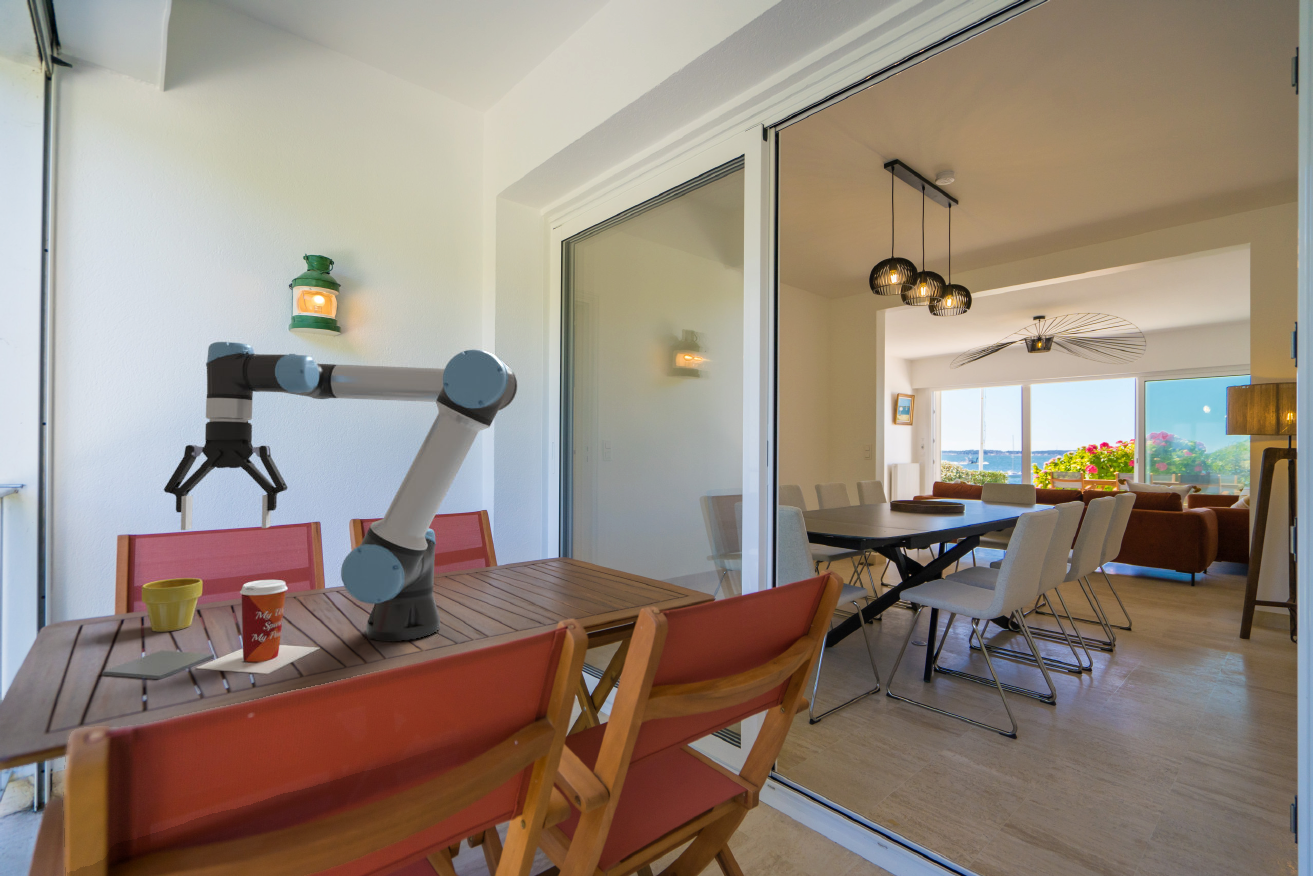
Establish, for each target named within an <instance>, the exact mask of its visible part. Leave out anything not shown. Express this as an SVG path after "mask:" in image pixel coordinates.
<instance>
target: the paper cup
mask: <svg viewBox="0 0 1313 876" xmlns="http://www.w3.org/2000/svg"><path fill="white" fill-rule="evenodd" d="M286 591H288V586H287V584H286V581H285V580H281V579H280V580H279V579H262V580H261V579H260V580H253V581H249V582H246V583H244V584H243V585H242V588H241V589H240V591H239V594H240V595H241V625H242V627H241V628H242V629H241V630H242V633H241V634H242V649H243V659H244V661H246V662H262V661H267V660H271V659H273V658H276V657H277V656H278V652H279V645H281V635H282V627H283V619H284V611H285V609H284V608H285V601H286Z"/></svg>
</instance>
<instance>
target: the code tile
mask: <svg viewBox="0 0 1313 876" xmlns="http://www.w3.org/2000/svg"><path fill="white" fill-rule="evenodd" d="M319 649H321V647H313V646H312V647H311V646H301V645H285V644H280V645H279V652H278V656H277V657H276V658H273V659H271V660H267V661H262V662H246V661H244V659H243V648H241V649H238V650H236V651H233V652H231V653H229V654H226V655H223V656H221V657H219V658H216V659H214V660H212V661H209V662H207V663H204V664H202V665H199V666H196V667H195V669H197V670H198V669H199V670H209V671H210V670H211V671H221V672H223V671H224V672H236V673H247V674H248V673H249V674H263V675H269V674H271V673H273V672H275V671H277V670H279V669H281V668H283V667H285V666H287V665H290V664H291V663H294V662H296V661H298V660H300V659H301V658H304V657H305V656H308V655H310V654H311V653H315V652H316V651H318V650H319Z"/></svg>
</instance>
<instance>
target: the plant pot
mask: <svg viewBox="0 0 1313 876" xmlns="http://www.w3.org/2000/svg"><path fill="white" fill-rule="evenodd" d="M202 594H203V580H202V578H196V577H180V578H170V579H169V578H168V579H161V580H156V581H151V582H147V583H145V584H143V585H142V586H141V602H142V603H143V604H145V606H146V610H147V614H148V619H149V623H150V627H151V630H152V631H153V632H155V633H156V632H158V633H160V632H161V633H167V632H174V631H180V630H183V629H187V628H189V627H190V626H191V625H192V623H193V618H194V615H195V610H196V608H197V603H198V599H199V598H200V597H202Z"/></svg>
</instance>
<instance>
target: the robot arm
mask: <svg viewBox="0 0 1313 876" xmlns="http://www.w3.org/2000/svg"><path fill="white" fill-rule="evenodd" d="M254 350H255V349H254V348H253V346H251V345H250V344H247V343H242V342H241V343H240V342H232V341H231V342H229V341H216V342H212V343H211V344H210V345H208V349H207V358H206V363H205V367H206V402H205V418H206V419H207V420H208V421H207V422H206V423H205V430H204V431H205V437H204V438H205V444H204V446H197V445H196V444H187V445H186V446H185V447H184V452H183V453H184V455H183V457H182V458H181V461H180V462H179V463H178V466H177V467H176V468H175V470H174V471H173V473H172V475H171V477H170V479H169V480H168V482H167V483H166V484H165V487H164V489H163V491H164V493H166V494H167V493H168V494H172V495H174V496H175V511H176V513H180V514H181V515H180V517H181V518H180V531H187V530H192V529H193V504H194V503H193V498H194V497H193V495H192V494H191V495H189V493H190V492H191V491H192V490H193V489H194V488H195V487H196V486H197V485H198V484H199V483H200V482H201V481H202V480H203V479H204V478H205V477H206V476H207V475H208V474H209V473H211V471H212V470H214V469H215V468H217V469H225V468H228V469H238V468H239V469H240V468H241V469H243V471H245V472H246V473H247V474H248V475H249V476H250V477H251V478H252V479H253V481H255V483H256V484H258V485H259V487H260V488H261V489H262V490H263V491H265V493H266V494H263V495H262V499H261V501H262V502H261V504H262V505H261V508H262V509H261V529H267V528H270V527H272V526H271V524H272V523H271V521H272V511H276V510H277V501H278V500H277V497H278V494H279V493H282V492H284V491H287V490H288V485H287V484H286V482H285V480H284V478H283V477H282V474H281V473H280V471H279V469H278V467H277V465H276V464H275V461H274V460H273V458H272V456H271V455H272V454H271V448H270V446H269V445H260V446H253V444H252V439H253V438H252V437H253V434H252V433H253V424H252V423H251V422H249V421H251V420H252V418H253V398H254V397H253V394H254V392H255V393H260V392H262V393H263V392H264V393H285V394H289V395H290V394H291V395H297V396H304V397H309V398H312V399H316V400H326V399H327V400H328V399H345V400H346V399H351V400H371V401H372V400H374V401H375V400H376V401H377V400H378V401H398V402H399V401H401V402H402V401H403V402H404V401H405V402H425V403H427V402H429V403H433V402H434V403H436V407H437V410H438V413H437V415H436V417H435V419H434V421H433V423H432V425H431V427H430V428H429V431H428V432H427V435H426V436H425V438H424V440H423V442H422V444H421V446H420V448H419V450H418V451H417V453H416V455H415V458H414V459H413V461H412V462H411V465H410V467H409V468H408V471H407V473H406V474H405V477H404V478H403V480H402V482H401V484H400V486H399V488H398V490H397V491H396V493H395V495H394V497H393V499H392V500H391V503H390V505H389V507H388V509H387V511H386V513H385V515H384V516H383V518H382V519H380V520H377V521H374V522H372V523H371V524H370V526H369V528H368V529H367V531H366V533H365V535H364V537H363V539H362V541H361V543H360V544H359V546H356V547H355V548H353V549H352V550H351V551H350V552H349V553H348V554H347V555H346V557H345V558H344V559H343V562H342V564H341V569H340V576H341V581H342V584H343V586H344V589H345V591H346V592H347V593H348V594H349V595H350V596H351V597H352V598H354V599H355V600H356V601H359V602H361V603H365V604H370V605H371V604H373V607H372V609H371V611H370V614H369V617H368V619H367V622H366V625H365V626H366V629H365V635H366V636H367V638H370V639H372V640H376V641H383V642H402V641H401V640H405V641H410V640H409V639H413V640H417V639H416V638H419V639H421V638H420V637H423V636H426V635H429V634H432V633H434V632H436V631H437V630H439V631H440V629H439V628H441V617H440V615H439V611H438V606H437V604H436V600H435V597H434V579H435V578H434V574H435V556H436V555H435V552H436V545H437V542H436V533H435V531H434V529H432V528H429V527H431V524H432V522H433V520H434V519H435V516H436V515H437V513H438V511H439V508H440V506H441V505H442V503H443V501H444V499H445V497H446V495H447V493H448V492H449V489H450V487H451V485H452V484H453V482H454V480H455V478H456V476H457V474H458V473H459V470H460V468H461V467H462V464H463V463H464V461H465V459H466V457H467V454H468V453H469V451H470V449H471V447H472V445H473V443H474V442H475V439H476V437H477V436H478V434H479V432H480V431H483V430H486V429H489V428H490V427H491V425H492V423H493V421H494V420H495V418H496V416H497V413H498V412H499V411H502V410H503V409H505V408H506V407H508V406H509V405H510V404H511V403H513V400H514V399H515V397H516V395H517V391H518V379H517V377H516V374H515V372H514V371H513V369H512V368H511V367H510V366H509V364H507V363H506V362H504V361H502V359H501V358H500V357H498V356H496V355H495V354H494V353H491V352H488V351H486V350H482V349H467V350H464V351H460V352H459V353H457V354H456V355H454V356H453V357H452V358H451V359H450V360H449V361H448V363H446V366H445V367H444V368H441V367H440V368H438V367H437V368H433V367H432V368H431V367H430V368H429V367H411V366H410V367H407V366H386V365H385V366H383V365H358V364H357V365H356V364H355V365H354V364H335V363H333V364H331V363H317V362H316V361H315V360H314V358H313V357H311V356H309V355H305V354H304V355H303V354H302V355H301V354H295V353H289V354H268V353H267V354H262V353H261V354H258V353H255V352H254ZM202 453H203V455H204V456H205V457H206V460H205V461H204V462H203V463H202V464H201V465H200V467H198V468H197V469H196V471H194V472H193V473H192V475H190V476H189V478H187V479H186V480H185V481H184V479H185V478H186V476H187V475H188V473H189V472H190V470H191V468H192V467H193V465H194V464H195V462H196V460H197V458H198V457H200V456H201V455H202ZM254 453H255V454H256V457H258V458H260V460H261V463H262V465H263V466H264V468H265V470H266V472H267V474H268V475H269V478H270V479H271V481H272V482H273V484H272V482H271V481H270V480H269V479H268V478H267V477H266V476H265V475H264V474H263V473H262V472H261V471H260V469H258V467H257V466H256V465H255V463H253V461H252V460H250V458H251V457H252V455H254ZM183 481H184V482H183ZM182 483H183V484H182ZM436 633H437V632H436ZM434 634H435V633H434ZM432 635H433V634H432ZM423 638H424V637H423Z"/></svg>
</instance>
